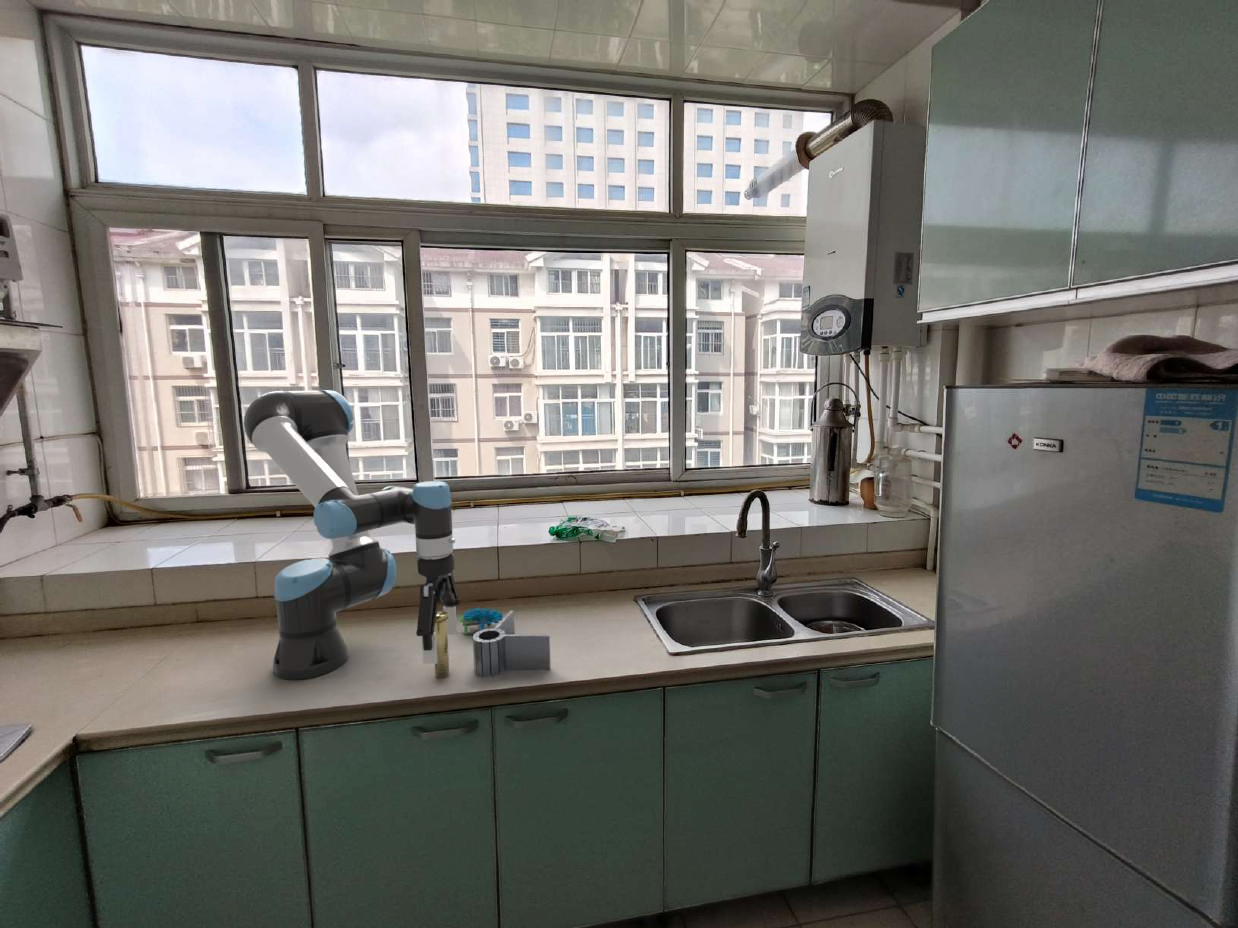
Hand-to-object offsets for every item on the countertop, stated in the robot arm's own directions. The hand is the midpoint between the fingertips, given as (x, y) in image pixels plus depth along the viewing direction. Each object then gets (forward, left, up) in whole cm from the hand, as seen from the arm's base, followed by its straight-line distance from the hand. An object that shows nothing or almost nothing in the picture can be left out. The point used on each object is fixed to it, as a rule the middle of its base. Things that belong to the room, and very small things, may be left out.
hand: (441, 647), depth 126 cm
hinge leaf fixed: (+15, +3, -7) cm, 17 cm away
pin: (0, 0, -7) cm, 7 cm away
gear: (+3, +23, -7) cm, 24 cm away
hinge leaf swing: (+11, +12, -7) cm, 18 cm away
